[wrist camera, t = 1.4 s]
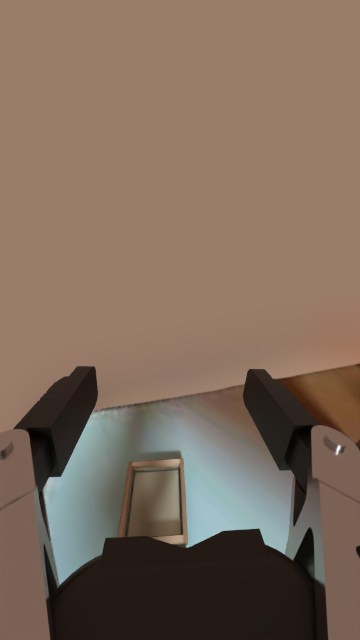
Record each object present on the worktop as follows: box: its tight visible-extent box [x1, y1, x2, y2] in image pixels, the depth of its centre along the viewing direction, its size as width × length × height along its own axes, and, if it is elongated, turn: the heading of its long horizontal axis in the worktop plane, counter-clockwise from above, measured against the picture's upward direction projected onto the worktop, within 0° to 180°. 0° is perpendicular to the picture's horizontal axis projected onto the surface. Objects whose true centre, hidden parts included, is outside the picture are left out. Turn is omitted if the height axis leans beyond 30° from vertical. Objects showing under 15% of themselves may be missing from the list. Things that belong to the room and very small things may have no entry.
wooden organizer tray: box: [118, 459, 188, 545], centre depth 20 cm, size 8×20×2 cm, turn 3°
